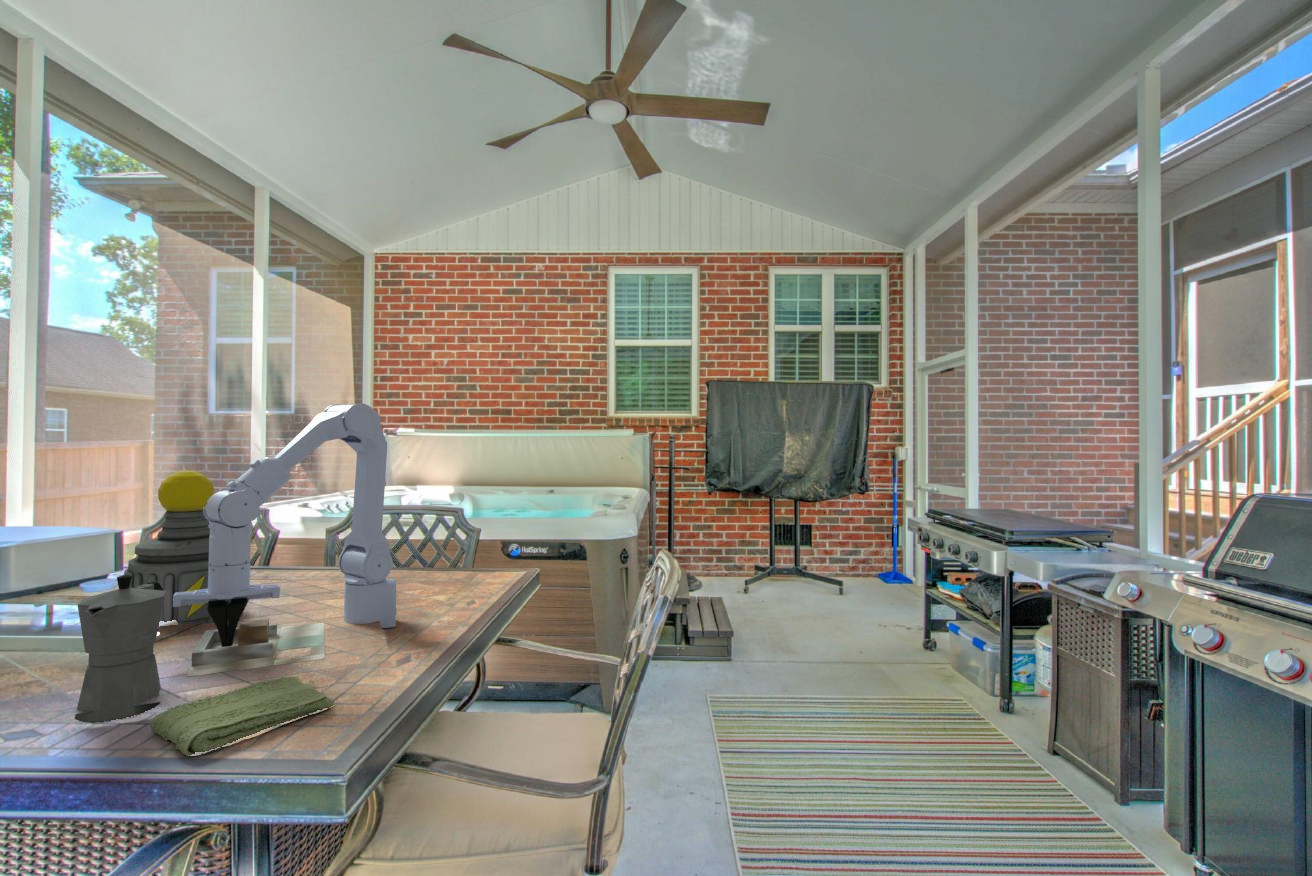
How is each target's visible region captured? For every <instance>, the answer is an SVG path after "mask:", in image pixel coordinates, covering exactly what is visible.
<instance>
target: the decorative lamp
mask: <svg viewBox="0 0 1312 876" xmlns="http://www.w3.org/2000/svg"><path fill="white" fill-rule="evenodd" d="M157 494H158V495H157V499H158V501H159V503H160V505H161V507H162V508H164V510H166V511H165V514H164V516H163V517H164V518H165V519H164V520H161V521H162V522H161V525H160V528H161V529H160V530H159V531H158V533H157V535H156V537H155V538H150V539H147V540H145V541H142V542H140V543H138V544H136V545H135V546H134V554H135V555H137V556H136V557H133V558H131V559H130V560H128V562H127V568H126V569H124V572H123V575H130V576H132V579H131V582H130V586H129V588H137V587H138V586H140V585H145V584H148V583H150V582H152V581H157V582H159V583H160V585H161V587H162V588H163V590H164V591H166V593H165V597H164V602H163V607H162V612H161V617H160V621H164V622H167V621H172V620H176V621H177V622H178V625H177V626H176V627H178V626H187V625H188V626H189V625H198V624H207V623H214V621H213V619H212V618H211V616H210V614H209V613H208V610H207V608H208V603H203V604H191V605H182V606H179V607H173V595H174V594H175V593H176V592H186V591H194V590H201V589H208V568H209V536H210V527H209V526H210V522H209V520H207V518H206V517H205V515H204V513H203V508H204V507H206V505H207V504H208V502H207V501H208V500H209V498H210V497H211V496H212V495H214V494H215V488H214V486H213V483H212V481H211V480H210V479H209V478H208V477H207V476H206V475H205V474H202V473H201V472H198V471H195V470H194V471H193V470H181V471H176V472H174V473H171V474H170V475H168V476H167V477H166V478H165V479H164V480H162V482H161V484H160V485H159V486H158V490H157ZM230 602H231V601H229V603H230Z"/></svg>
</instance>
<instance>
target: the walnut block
mask: <svg viewBox="0 0 1312 876" xmlns="http://www.w3.org/2000/svg"><path fill="white" fill-rule="evenodd" d="M269 624H270V618H268V619H256V620H247V621H246V620H245V621H241V622H240V624H239V636H238V646H242V645H251V644H259V643H268V642H269Z"/></svg>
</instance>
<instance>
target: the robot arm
mask: <svg viewBox="0 0 1312 876" xmlns="http://www.w3.org/2000/svg"><path fill="white" fill-rule="evenodd" d="M381 418H382V417H381V415H380V414H379V413H378V412H377V411H376V410H374V408H372V407H371V406H370V405H369V404H366V403H361V402H360V403H355V404H353V403H351V404H339V403H338V404H337V403H335V404H331V405H328V406H327V407H326V408H325V409H323V411H322V412H320V413H318V414H317V415H315V416H314V417H313V419H312V420H311V422H310V423H309V424H307V425H306V426H305V428H303V429H302V430H301V431H300V432H299V433H298V434H297V435H295V437H293V438H292V440H291V441H289V443H287V445H286V446H284V447H283V448H282V449H281V450H280V451H278V453H277V454H276V455H275V456H274V457H267V456H266V457H262V458H260V459H254V460H252V461H251V462H250V463H249V464H248V466H250V468H248V470H246V471H245V472H244V473H242V475H240V476H239V477H238V478H236V480H234V481H229V482H228V483H227V484H226V487H227V490H222V491H217V492H214V495H212V496H211V497H210V498H209V500H208V501H207V502H208V504H207V505H206V507H204V508H203V513H204V515H205V517H206V519H207V520H209V523H210V524H209V528H210V536H209V568H208V589H201V590H194V591H186V592H176V593H175V594H174V595H173V607H179V606H182V605H191V604H203V603H208V608H207V610H208V613H209V614H210V616H211V618H212V619H213V621H214V622H213V623H214V626H215V627H216V629H217V630H218V632H219V636H220V639H221V646H222V647H228V646H232V644H233V640H234V634H235V631H236V627H238V624H239V622H240V618H241V617H242V615H243V613H244V611H245V609H246V607H247V606H248V603H249V600H259V599H269V598H272V599H278V598H279V599H280V596H281V584H280V583H279V584H262V585H261V584H254V585H253V584H251V583H250V582H251V581H250V580H251V550H252V549H251V543H252V541H251V540H252V521H255V520H256V519H257V518H258V516H259V513H260V507H261V506H263V504H265V503H266V502H267V501H268V500H269V499H270V498H271V497H273V496H274V494H275V493H277V492H279V490H280V489H282V488H283V486H284V485H286V484H287V483H288V482H290V479H291V470H292V469H294V467H296V466H297V465H299V463H300V462H302V461H303V460H304V459H306V458H307V457H308V456H309V455H311V454H312V453H313V452H314V451H315V450H316V449H318V448H319V447H320V446H322V445H323V444H324V443H325V442H327V441H333V440H340V441H343V442H344V443H345V444H346V445H348V446H349V447H350V448H351V449H352V450H353V451H355V453H356V462H355V476H354V478H355V479H354V492H353V493H354V495H353V506H352V508H353V510H352V520H351V521H352V524H351V532H350V533H349V534H348V535H347V536H346V538H345V539H344V543H343V549H342V551H341V553H340V554H339V556H338V560H337V561H338V562H337V563H338V564H337V565H338V569H339V571H340V572H341V573H342V574H343V576H344V594H343V595H344V596H343V597H344V598H343V599H344V601H343V602H344V603H343V623H345V624H346V623H347V624H352V625H361V624H370V623H375V622H379V624H380V628H381V629H389V628H395V627H396V626H397V624H396V616H397V611H398V610H397V584H396V579H395V578H387V577H388V576H389V575H390V573H391V571H392V569H393V564H394V561H393V557H392V555H391V552H390V551H391V550H390V542H389V540H388V539H387V537H386V536H385V534H384V533H383V521H384V520H383V518H384V504H385V502H384V501H385V487H386V473H387V472H386V471H387V460H388V459H387V457H388V442H387V439H386V437H385V434H384V431H383V428H382V426H381V423H382V422H381V420H382V419H381ZM229 601H231V602H230V603H229Z"/></svg>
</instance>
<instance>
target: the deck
mask: <svg viewBox="0 0 1312 876" xmlns="http://www.w3.org/2000/svg"><path fill="white" fill-rule="evenodd" d="M238 636H239V627H238V626H237V627H236V631H235V634H234V640H233V644H232V646H228V647H222V646H221V639H220V636H219V632H218V630H217V628H216V629H208V630H207V629H206V630H205V631H204V632H203V634H202V635H201V637H200V640H199V641H198V643H197V644H196V646H195V648H194V649H193V651H192V653H191V667H190V668H189V670H188V672H187V674H186V675H185V678H189V677H197V676H205V675H212V674H219V673H227V672H235V671H243V670H251V669H257V668H258V669H259V668H265V667H267V668H268V667H273V666H281V665H288V664H289V665H290V664H295V663H297V664H298V663H303V662H311V661H318V660H319V661H320V660H325V659H326V658H325V657H326V656H325V622H317V623H315V622H314V623H308V624H306V623H305V624H298V625H290V626H288V625H287V626H278V623H277V622H276V623H269V642H268V643H259V644H251V645H242V646H238ZM301 648H302V649H304V648H310V655H305V656H298V657H289V658H281V659H276V655H277V652H280V651H287V650H295V649H301Z"/></svg>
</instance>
